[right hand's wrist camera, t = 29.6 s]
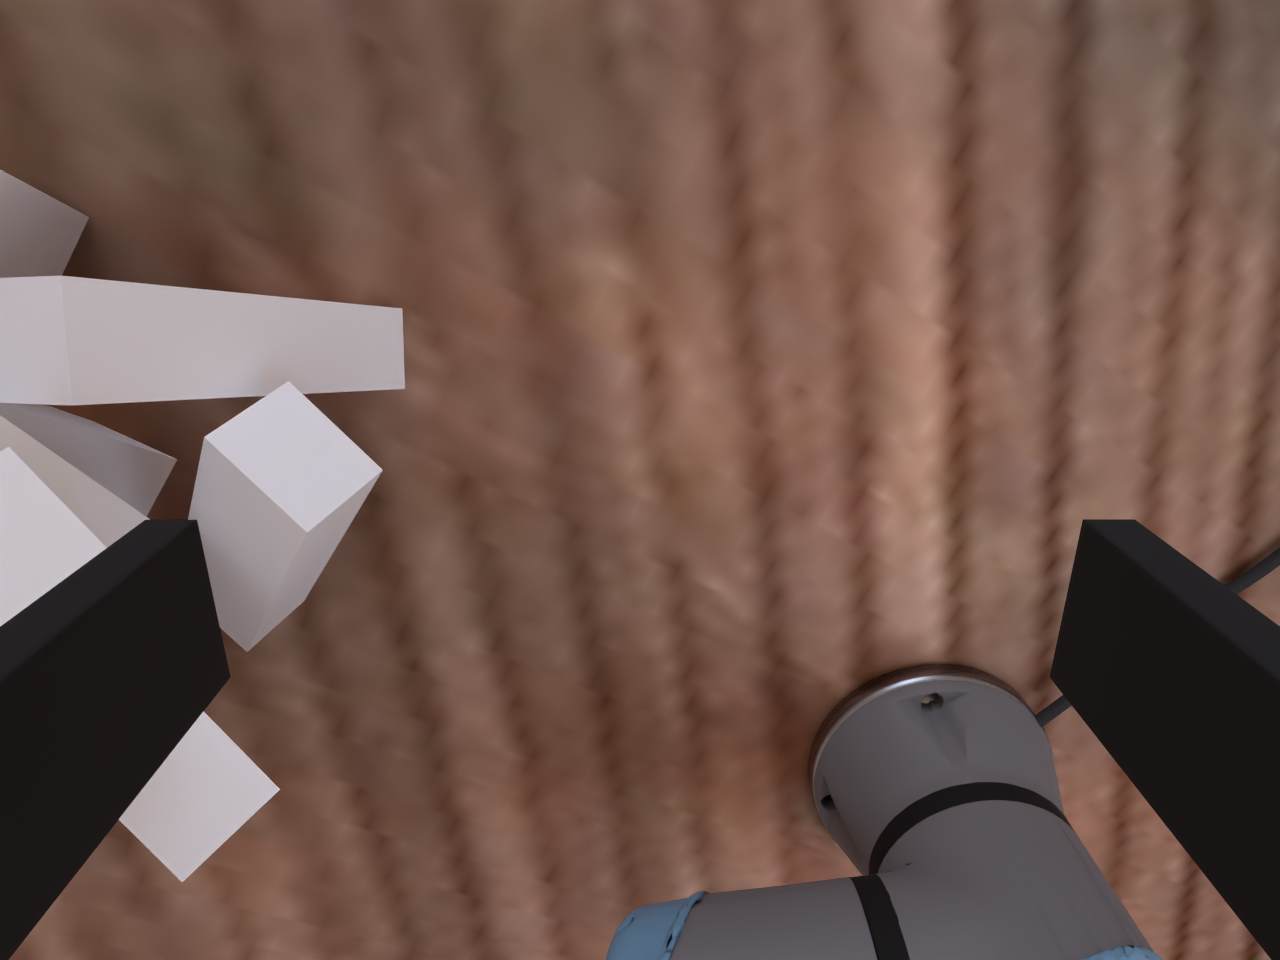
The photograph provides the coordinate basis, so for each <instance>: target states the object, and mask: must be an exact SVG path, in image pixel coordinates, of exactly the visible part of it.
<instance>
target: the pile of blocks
mask: <svg viewBox="0 0 1280 960" xmlns="http://www.w3.org/2000/svg"><path fill="white" fill-rule="evenodd" d="M88 219H89V217H88V216H86V215H84V214H82V213H80V212H79V211H77V210H75V209H73V208H71V207H69V206H67V205H66V204H64V203H62V202H60V201H58V200H56V199H54V198H52V197H51V196H49V195H47V194H45V193H43V192H41V191H39V190H38V189H36V188H34V187H32V186H30V185H28V184H26V183H24V182H23V181H21V180H19V179H17V178H15V177H13V176H11V175H9V174H8V173H6V172H4V171H2V170H0V626H2V625H3V624H4V623H6V622H7V621H9V620H10V619H11V618H13V617H14V616H15V615H17V614H18V613H19V612H21V611H22V610H23V609H25V608H26V607H28V606H29V605H30V604H32V603H33V602H34V601H36V600H37V599H38V598H40V597H41V596H42V595H44V594H45V593H47V592H48V591H49V590H51V589H52V588H53V587H55V586H56V585H57V584H59V583H60V582H61V581H63V580H64V579H66V578H67V577H68V576H70V575H71V574H72V573H74V572H75V571H76V570H78V569H79V568H80V567H82V566H83V565H84V564H86V563H87V562H89V561H90V560H91V559H93V558H94V557H95V556H97V555H98V554H99V553H101V552H102V551H103V550H105V549H106V548H108V547H109V546H110V545H112V544H113V543H114V542H116V541H117V540H118V539H120V538H121V537H122V536H124V535H125V534H127V533H128V532H129V531H131V530H132V529H133V528H135V527H136V526H137V525H139V524H140V523H141V522H143V521H144V520H150V519H149V518H147V515H148V513H149V511H150V509H151V508H152V506H153V504H154V502H155V500H156V498H157V496H158V495H159V493H160V491H161V489H162V487H163V485H164V484H165V482H166V480H167V478H168V476H169V474H170V472H171V471H172V469H173V467H174V465H175V463H176V461H177V459H175V458H173V457H171V456H169V455H166V454H164V453H162V452H160V451H158V450H155V449H153V448H151V447H149V446H147V445H144V444H142V443H140V442H138V441H136V440H133V439H131V438H129V437H127V436H125V435H122V434H120V433H118V432H116V431H114V430H111V429H109V428H107V427H105V426H103V425H100V424H98V423H96V422H94V421H91V420H88V419H85V418H82V417H80V416H77V415H74V414H71V413H68V412H65V411H62V410H59V409H56V408H53V407H51V406H48V405H91V404H111V403H131V402H151V401H171V400H191V399H211V398H231V397H251V396H265V397H264V398H262V399H261V400H259V401H258V402H256V403H255V404H253V405H252V406H250V407H249V408H247V409H246V410H244V411H243V412H241V413H240V414H238V415H237V416H235V417H234V418H232V419H231V420H229V421H228V422H226V423H225V424H223V425H222V426H220V427H219V428H217V429H216V430H214V431H213V432H211V433H210V434H208V435H206V436H205V437H204V441H203V446H202V451H201V456H200V461H199V466H198V471H197V476H196V481H195V486H194V491H193V496H192V501H191V506H190V511H189V516H188V520H197V522H198V527H199V531H200V536H201V541H202V546H203V550H204V555H205V560H206V564H207V569H208V574H209V579H210V583H211V588H212V593H213V598H214V602H215V607H216V612H217V617H218V621H219V626H220V628H221V629H222V630H223V631H224V632H225V633H226V634H228V635H229V636H230V637H231V638H232V639H233V640H234V641H235V642H236V643H237V644H239V645H240V646H241V647H242V648H243V649H244V650H245V651H246V652H248V651H249V650H250V649H251V648H252V647H253V646H254V645H256V644H257V643H258V642H259V641H260V640H261V639H262V638H263V637H265V636H266V635H267V634H268V633H269V632H270V631H271V630H272V629H273V628H275V627H276V626H277V625H278V624H279V623H280V622H281V621H282V620H284V619H285V618H286V617H287V616H288V615H289V614H290V613H291V612H292V611H294V610H295V609H296V608H297V607H298V606H299V605H300V604H301V603H302V602H304V601H305V599H306V597H307V596H308V594H309V592H310V591H311V589H312V587H313V586H314V584H315V582H316V581H317V579H318V577H319V576H320V574H321V572H322V571H323V569H324V567H325V566H326V564H327V562H328V561H329V559H330V557H331V556H332V554H333V552H334V551H335V549H336V547H337V546H338V544H339V542H340V541H341V539H342V537H343V536H344V534H345V532H346V531H347V529H348V527H349V526H350V524H351V522H352V521H353V519H354V517H355V516H356V514H357V512H358V511H359V509H360V507H361V506H362V504H363V502H364V501H365V499H366V497H367V496H368V494H369V492H370V491H371V489H372V487H373V486H374V484H375V482H376V481H377V479H378V477H379V476H380V474H381V472H382V471H383V470H382V469H381V468H380V467H379V466H378V465H377V464H376V463H375V462H374V461H373V460H372V459H371V458H370V457H368V456H367V455H366V454H365V453H364V452H363V451H362V450H361V449H360V448H359V447H358V446H357V445H356V444H355V443H354V442H353V441H352V440H350V439H349V438H348V437H347V436H346V435H345V434H344V433H343V432H342V431H341V430H340V429H339V428H338V427H337V426H336V425H335V424H334V423H333V422H331V421H330V420H329V419H328V418H327V417H326V416H325V415H324V414H323V413H322V412H321V411H320V410H319V409H318V408H317V407H316V406H315V405H313V404H312V403H311V402H310V401H309V400H308V399H307V398H306V397H305V396H304V395H303V394H311V393H331V392H351V391H371V390H391V389H405V376H404V346H403V316H402V309H401V308H391V307H381V306H370V305H360V304H350V303H339V302H329V301H319V300H308V299H298V298H288V297H277V296H267V295H257V294H246V293H236V292H226V291H215V290H205V289H195V288H184V287H174V286H164V285H153V284H143V283H133V282H122V281H112V280H101V279H91V278H81V277H70V276H62V274H63V272H64V270H65V268H66V266H67V264H68V262H69V259H70V257H71V255H72V253H73V251H74V249H75V247H76V245H77V242H78V240H79V238H80V236H81V234H82V232H83V230H84V228H85V225H86V223H87V221H88ZM45 404H47V405H45ZM279 790H280V789H279V788H278V787H277V786H276V785H275V784H274V783H273V782H272V781H271V780H270V779H269V778H268V777H267V776H266V775H265V774H264V773H263V772H262V771H261V770H260V769H259V768H258V767H257V765H256V764H255V763H254V762H253V761H252V760H251V759H250V758H249V757H248V756H247V755H246V754H245V753H244V752H243V751H242V750H241V749H240V748H239V747H238V746H237V745H236V744H235V743H234V742H233V741H232V740H231V739H230V738H229V737H228V736H227V735H226V734H225V733H224V732H223V731H222V730H221V729H220V728H219V727H218V726H217V725H216V724H215V723H214V722H213V721H212V720H211V718H210V717H209V716H208V715H207V714H206V713H205V712H204V711H203V712H202V714H201V715H200V716H199V718H198V719H197V720H196V721H195V723H194V724H193V725H192V726H191V728H190V729H189V730H188V732H187V733H186V734H185V735H184V737H183V738H182V739H181V740H180V742H179V743H178V744H177V746H176V747H175V748H174V749H173V751H172V752H171V753H170V754H169V756H168V757H167V758H166V760H165V761H164V762H163V763H162V765H161V766H160V767H159V768H158V770H157V771H156V772H155V774H154V775H153V776H152V777H151V779H150V780H149V781H148V783H147V784H146V785H145V786H144V788H143V789H142V790H141V791H140V793H139V794H138V795H137V797H136V798H135V799H134V800H133V802H132V803H131V804H130V805H129V807H128V808H127V809H126V811H125V812H124V813H123V814H122V816H121V817H120V818H119V820H120V821H121V822H122V823H123V824H124V825H125V826H126V827H127V828H128V829H129V830H130V831H131V832H132V833H133V834H134V835H135V836H136V837H137V838H138V839H139V840H140V841H141V842H142V843H143V844H144V845H145V846H146V847H147V848H148V849H149V850H150V851H151V852H152V853H153V854H154V855H155V856H156V857H157V858H158V859H159V860H160V861H161V862H162V863H163V864H164V865H165V866H166V867H167V868H168V869H169V870H170V871H171V872H172V873H173V874H174V875H175V876H176V877H177V878H178V879H179V880H180V881H181V882H183V881H184V880H185V879H186V878H187V877H188V876H189V875H190V874H191V873H193V872H194V871H195V870H196V869H197V868H198V867H199V866H200V865H201V864H202V863H203V862H204V861H205V860H206V859H207V858H208V857H209V856H210V855H211V854H213V853H214V852H215V851H216V850H217V849H218V848H219V847H220V846H221V845H222V844H223V843H224V842H225V841H226V840H227V839H228V838H229V837H230V836H231V835H233V834H234V833H235V832H236V831H237V830H238V829H239V828H240V827H241V826H242V825H243V824H244V823H245V822H246V821H247V820H248V819H249V818H250V817H251V816H253V815H254V814H255V813H256V812H257V811H258V810H259V809H260V808H261V807H262V806H263V805H264V804H265V803H266V802H267V801H268V800H269V799H270V798H271V797H273V796H274V795H275V794H276V793H277V792H278V791H279Z"/></svg>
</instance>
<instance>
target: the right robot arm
mask: <svg viewBox="0 0 1280 960" xmlns="http://www.w3.org/2000/svg"><path fill="white" fill-rule="evenodd" d="M1279 565H1280V547H1279V548H1278V549H1277V550H1276V551H1274V552H1273V553H1272V554H1271V555H1269V556H1268V557H1266V558H1265V559H1264V560H1262V561H1261V562H1260V563H1258V564H1257V565H1255V566H1254V567H1253V568H1251V569H1250V570H1248V571H1247V572H1245V573H1244V574H1242V575H1241V576H1239V577H1238V578H1236V579H1234V580H1233V581H1231V582H1230V583H1228V584H1226V585H1225V586H1224V585H1223V584H1221V583H1220V582H1219V581H1217V580H1216V579H1214V578H1213V577H1212V576H1210V575H1209V574H1208V573H1206V572H1205V571H1204V570H1202V569H1201V568H1200V567H1198V566H1197V565H1196V564H1194V563H1193V562H1191V561H1190V560H1189V559H1187V558H1186V557H1185V556H1183V555H1182V554H1181V553H1179V552H1178V551H1177V550H1175V549H1174V548H1172V547H1171V546H1170V545H1168V544H1167V543H1166V542H1164V541H1163V540H1162V539H1160V538H1159V537H1158V536H1156V535H1155V534H1153V533H1152V532H1151V531H1149V530H1148V529H1147V528H1145V527H1144V526H1143V525H1141V524H1140V523H1139V522H1137V521H1136V520H1083V522H1082V527H1081V531H1080V536H1079V541H1078V546H1077V550H1076V555H1075V560H1074V564H1073V569H1072V574H1071V579H1070V583H1069V588H1068V593H1067V598H1066V602H1065V607H1064V612H1063V617H1062V621H1061V626H1060V631H1059V636H1058V640H1057V645H1056V650H1055V654H1054V659H1053V664H1052V669H1051V673H1050V678H1051V679H1052V681H1053V682H1054V683H1055V684H1056V686H1057V687H1058V688H1059V689H1060V691H1061V692H1062V693H1063V696H1061V697H1060V698H1058V699H1057V700H1056V701H1054V702H1053V703H1052V704H1050V705H1049V706H1048V707H1046V708H1045V709H1043V710H1042V711H1041V712H1039V713H1038V714H1037V715H1035V714H1034V713H1033V711H1032V710H1031V709H1030V707H1029V706H1028V704H1027V703H1026V702H1025V701H1024V699H1023V698H1022V697H1021V696H1020V695H1019V694H1018V693H1017V692H1016V691H1015V690H1014V689H1013V688H1011V687H1010V686H1009V685H1007V684H1006V683H1004V682H1003V681H1001V680H999V679H998V678H996V677H994V676H992V675H990V674H987V673H985V672H982V671H979V670H976V669H972V668H968V667H963V666H956V665H945V664H934V665H921V666H915V667H909V668H905V669H901V670H897V671H894V672H891V673H888V674H885V675H883V676H880V677H878V678H876V679H874V680H872V681H870V682H868V683H866V684H864V685H863V686H861V687H860V688H858V689H857V690H855V691H853V692H852V693H851V694H850V695H848V696H847V697H846V698H845V699H843V700H842V701H841V702H840V703H839V704H838V705H837V706H836V707H835V708H834V709H833V711H832V712H831V713H830V714H829V715H828V717H827V718H826V719H825V721H824V722H823V724H822V725H821V727H820V729H819V731H818V732H817V735H816V737H815V739H814V742H813V745H812V748H811V752H810V757H809V767H808V771H809V781H810V787H811V790H812V794H813V798H814V801H815V805H816V808H817V811H818V814H819V816H820V818H821V820H822V822H823V824H824V825H825V827H826V828H827V830H828V831H829V833H830V834H831V836H832V837H833V838H834V840H835V841H836V842H837V844H838V845H839V846H840V847H841V849H842V850H843V851H844V852H845V854H846V855H847V856H848V857H849V859H850V860H851V861H852V863H853V864H854V865H855V866H856V868H857V869H858V870H859V871H860V873H861V874H862V875H863V876H859V877H846V878H839V879H831V880H823V881H815V882H808V883H800V884H792V885H783V886H774V887H765V888H756V889H747V890H738V891H729V892H720V893H711V894H710V893H707V892H706V891H700V892H697V893H695V894H693V895H692V896H690V897H689V898H684V899H679V900H674V901H668V902H662V903H657V904H651V905H646V906H642V907H640V908H638V909H636V910H634V911H633V912H631V913H630V914H629V915H628V916H627V917H626V918H625V919H624V920H623V921H622V923H621V924H620V925H619V927H618V929H617V931H616V933H615V935H614V937H613V940H612V941H611V944H610V947H609V950H608V953H607V957H606V960H1162V958H1161V957H1160V956H1159V955H1157V954H1156V953H1154V951H1153V950H1152V948H1151V947H1150V945H1149V944H1148V942H1147V941H1146V939H1145V938H1144V936H1143V935H1142V933H1141V932H1140V930H1139V929H1138V927H1137V926H1136V924H1135V923H1134V921H1133V919H1132V918H1131V916H1130V915H1129V913H1128V912H1127V910H1126V909H1125V907H1124V906H1123V904H1122V903H1121V901H1120V900H1119V898H1118V897H1117V895H1116V894H1115V892H1114V891H1113V889H1112V888H1111V886H1110V884H1109V883H1108V881H1107V880H1106V878H1105V877H1104V875H1103V874H1102V872H1101V871H1100V869H1099V868H1098V866H1097V865H1096V863H1095V862H1094V860H1093V859H1092V857H1091V856H1090V854H1089V852H1088V851H1087V849H1086V848H1085V846H1084V845H1083V843H1082V842H1081V840H1080V839H1079V837H1078V836H1077V834H1076V833H1075V831H1074V830H1073V828H1072V827H1071V825H1070V824H1069V822H1068V820H1067V819H1066V817H1065V816H1064V812H1063V807H1062V801H1061V796H1060V791H1059V786H1058V781H1057V776H1056V772H1055V767H1054V761H1053V755H1052V750H1051V747H1050V743H1049V740H1048V737H1047V735H1046V732H1045V730H1044V728H1043V726H1044V725H1046V724H1047V723H1048V722H1050V721H1051V720H1052V719H1054V718H1055V717H1057V716H1058V715H1059V714H1061V713H1062V712H1063V711H1065V710H1066V709H1067V708H1069V707H1070V706H1073V707H1074V709H1075V710H1076V711H1077V712H1078V714H1079V715H1080V716H1081V718H1082V719H1083V720H1084V721H1085V723H1086V724H1087V725H1088V726H1089V728H1090V729H1091V730H1092V732H1093V733H1094V734H1095V735H1096V737H1097V738H1098V739H1099V740H1100V742H1101V743H1102V744H1103V746H1104V747H1105V748H1106V749H1107V751H1108V752H1109V753H1110V754H1111V756H1112V757H1113V758H1114V760H1115V761H1116V762H1117V763H1118V765H1119V766H1120V767H1121V768H1122V770H1123V771H1124V772H1125V774H1126V775H1127V776H1128V777H1129V779H1130V780H1131V781H1132V783H1133V784H1134V785H1135V786H1136V788H1137V789H1138V790H1139V791H1140V793H1141V794H1142V795H1143V797H1144V798H1145V799H1146V800H1147V802H1148V803H1149V804H1150V805H1151V807H1152V808H1153V809H1154V811H1155V812H1156V813H1157V814H1158V816H1159V817H1160V818H1161V819H1162V821H1163V822H1164V823H1165V825H1166V826H1167V827H1168V828H1169V830H1170V831H1171V832H1172V833H1173V835H1174V836H1175V837H1176V839H1177V840H1178V841H1179V842H1180V844H1181V845H1182V846H1183V848H1184V849H1185V850H1186V851H1187V853H1188V854H1189V855H1190V856H1191V858H1192V859H1193V860H1194V862H1195V863H1196V864H1197V865H1198V867H1199V868H1200V869H1201V870H1202V872H1203V873H1204V874H1205V876H1206V877H1207V878H1208V879H1209V881H1210V882H1211V883H1212V884H1213V886H1214V887H1215V888H1216V890H1217V891H1218V892H1219V893H1220V895H1221V896H1222V897H1223V898H1224V900H1225V901H1226V902H1227V904H1228V905H1229V906H1230V907H1231V909H1232V910H1233V911H1234V913H1235V914H1236V915H1237V916H1238V918H1239V919H1240V920H1241V921H1242V923H1243V924H1244V925H1245V927H1246V928H1247V929H1248V930H1249V932H1250V933H1251V934H1252V935H1253V937H1254V938H1255V939H1256V941H1257V942H1258V943H1259V944H1260V946H1261V947H1262V948H1263V949H1264V951H1265V952H1266V953H1267V955H1268V956H1269V957H1270V958H1271V960H1280V626H1278V625H1277V624H1276V623H1274V622H1273V621H1271V620H1270V619H1269V618H1267V617H1266V616H1265V615H1263V614H1262V613H1261V612H1259V611H1258V610H1257V609H1255V608H1254V607H1252V606H1251V605H1250V604H1248V603H1247V602H1246V601H1244V600H1243V599H1242V598H1240V597H1239V596H1238V595H1236V594H1238V593H1239V592H1241V591H1243V590H1244V589H1246V588H1247V587H1249V586H1251V585H1252V584H1254V583H1255V582H1257V581H1258V580H1260V579H1261V578H1263V577H1264V576H1265V575H1267V574H1268V573H1270V572H1271V571H1273V570H1274V569H1275V568H1277V567H1278V566H1279ZM229 678H230V673H229V669H228V664H227V659H226V654H225V650H224V645H223V640H222V636H221V631H220V626H219V621H218V617H217V612H216V607H215V602H214V598H213V593H212V588H211V583H210V579H209V574H208V569H207V564H206V560H205V555H204V550H203V546H202V541H201V536H200V531H199V527H198V522H197V520H144V521H143V522H141V523H140V524H139V525H137V526H136V527H135V528H133V529H132V530H131V531H129V532H128V533H127V534H125V535H124V536H122V537H121V538H120V539H118V540H117V541H116V542H114V543H113V544H112V545H110V546H109V547H108V548H106V549H105V550H103V551H102V552H101V553H99V554H98V555H97V556H95V557H94V558H93V559H91V560H90V561H89V562H87V563H86V564H84V565H83V566H82V567H80V568H79V569H78V570H76V571H75V572H74V573H72V574H71V575H70V576H68V577H67V578H66V579H64V580H63V581H61V582H60V583H59V584H57V585H56V586H55V587H53V588H52V589H51V590H49V591H48V592H47V593H45V594H44V595H42V596H41V597H40V598H38V599H37V600H36V601H34V602H33V603H32V604H30V605H29V606H28V607H26V608H25V609H23V610H22V611H21V612H19V613H18V614H17V615H15V616H14V617H13V618H11V619H10V620H9V621H7V622H6V623H4V624H3V625H2V626H0V960H9V958H10V957H11V956H12V955H13V953H14V952H15V951H16V949H17V948H18V947H19V946H20V944H21V943H22V942H23V941H24V939H25V938H26V937H27V935H28V934H29V933H30V932H31V930H32V929H33V928H34V927H35V925H36V924H37V923H38V921H39V920H40V919H41V918H42V916H43V915H44V914H45V913H46V911H47V910H48V909H49V907H50V906H51V905H52V904H53V902H54V901H55V900H56V898H57V897H58V896H59V895H60V893H61V892H62V891H63V890H64V888H65V887H66V886H67V884H68V883H69V882H70V881H71V879H72V878H73V877H74V876H75V874H76V873H77V872H78V870H79V869H80V868H81V867H82V865H83V864H84V863H85V862H86V860H87V859H88V858H89V856H90V855H91V854H92V853H93V851H94V850H95V849H96V848H97V846H98V845H99V844H100V842H101V841H102V840H103V839H104V837H105V836H106V835H107V833H108V832H109V831H110V830H111V828H112V827H113V826H114V825H115V823H116V822H117V821H118V819H119V818H120V817H121V816H122V814H123V813H124V812H125V811H126V809H127V808H128V807H129V805H130V804H131V803H132V802H133V800H134V799H135V798H136V797H137V795H138V794H139V793H140V791H141V790H142V789H143V788H144V786H145V785H146V784H147V783H148V781H149V780H150V779H151V777H152V776H153V775H154V774H155V772H156V771H157V770H158V768H159V767H160V766H161V765H162V763H163V762H164V761H165V760H166V758H167V757H168V756H169V754H170V753H171V752H172V751H173V749H174V748H175V747H176V746H177V744H178V743H179V742H180V740H181V739H182V738H183V737H184V735H185V734H186V733H187V732H188V730H189V729H190V728H191V726H192V725H193V724H194V723H195V721H196V720H197V719H198V718H199V716H200V715H201V714H202V712H203V711H204V710H205V709H206V707H207V706H208V705H209V704H210V702H211V701H212V700H213V698H214V697H215V696H216V695H217V693H218V692H219V691H220V689H221V688H222V687H223V686H224V684H225V683H226V682H227V681H228V679H229Z"/></svg>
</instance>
